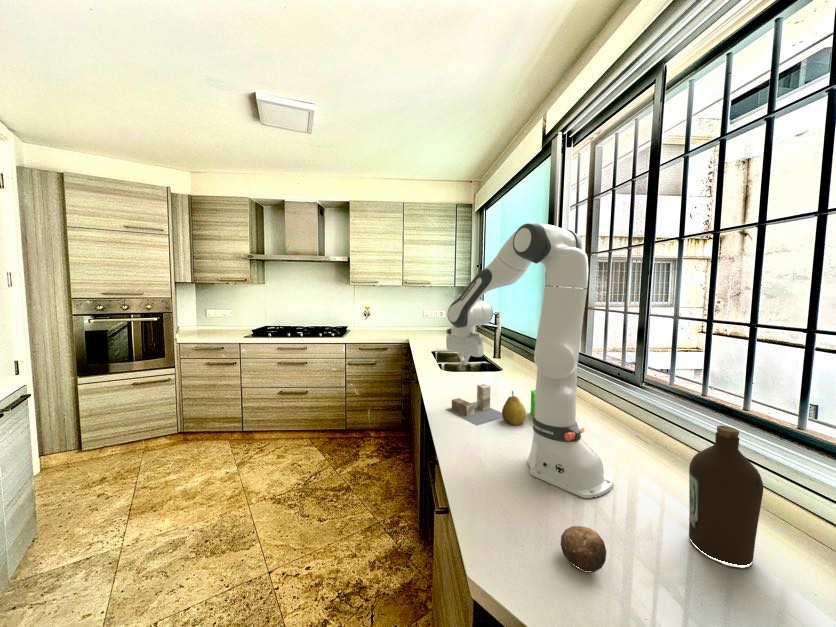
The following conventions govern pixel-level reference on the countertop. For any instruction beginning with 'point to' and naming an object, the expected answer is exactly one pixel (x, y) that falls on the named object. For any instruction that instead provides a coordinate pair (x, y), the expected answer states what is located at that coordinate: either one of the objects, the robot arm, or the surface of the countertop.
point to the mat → (479, 415)
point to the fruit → (514, 411)
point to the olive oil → (724, 500)
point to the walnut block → (463, 407)
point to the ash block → (483, 397)
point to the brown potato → (583, 548)
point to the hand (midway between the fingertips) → (464, 364)
